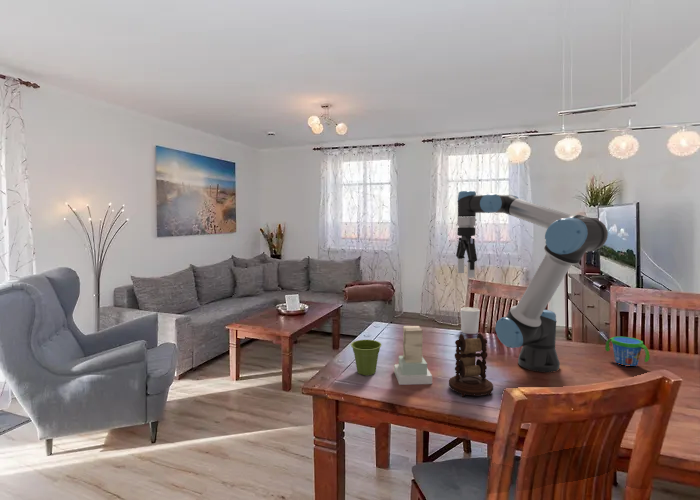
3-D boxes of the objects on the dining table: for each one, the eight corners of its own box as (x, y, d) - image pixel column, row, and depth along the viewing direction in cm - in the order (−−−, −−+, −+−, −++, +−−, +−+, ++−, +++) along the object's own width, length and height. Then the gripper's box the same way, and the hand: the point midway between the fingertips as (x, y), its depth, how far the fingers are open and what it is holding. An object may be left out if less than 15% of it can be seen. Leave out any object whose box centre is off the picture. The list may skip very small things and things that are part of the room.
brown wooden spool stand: (481, 380, 146) (482, 327, 144) (501, 398, 131) (502, 339, 129) (442, 382, 144) (443, 329, 142) (458, 401, 129) (459, 341, 128)
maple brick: (403, 356, 151) (403, 326, 150) (418, 356, 151) (418, 325, 150) (406, 362, 145) (406, 330, 144) (422, 362, 145) (422, 330, 144)
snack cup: (598, 359, 165) (599, 336, 165) (616, 356, 169) (617, 333, 168) (636, 373, 151) (637, 347, 150) (655, 369, 154) (656, 344, 154)
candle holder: (469, 335, 201) (469, 312, 200) (455, 330, 210) (456, 308, 209) (483, 332, 206) (483, 310, 205) (469, 328, 214) (470, 306, 213)
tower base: (394, 371, 154) (394, 354, 154) (424, 371, 155) (424, 353, 154) (399, 384, 142) (399, 365, 142) (432, 383, 143) (432, 365, 142)
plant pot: (345, 371, 155) (344, 343, 154) (368, 364, 162) (368, 337, 162) (364, 381, 146) (364, 351, 145) (387, 373, 153) (387, 345, 152)
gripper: (485, 227, 160) (485, 279, 161) (465, 226, 184) (464, 271, 186) (467, 227, 159) (466, 279, 161) (449, 226, 184) (449, 271, 186)
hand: (465, 275), depth 174 cm, fingers open, 13 cm apart
